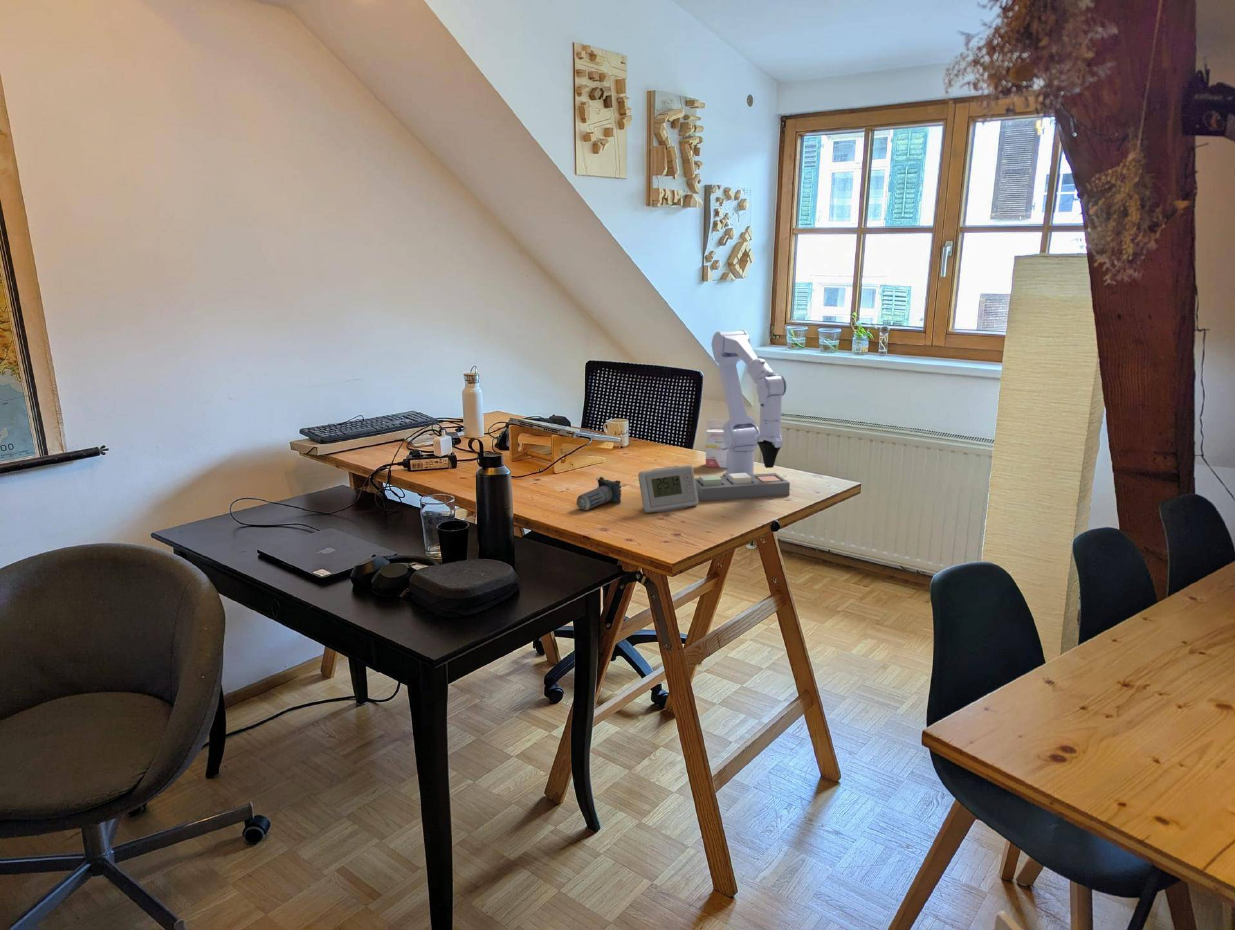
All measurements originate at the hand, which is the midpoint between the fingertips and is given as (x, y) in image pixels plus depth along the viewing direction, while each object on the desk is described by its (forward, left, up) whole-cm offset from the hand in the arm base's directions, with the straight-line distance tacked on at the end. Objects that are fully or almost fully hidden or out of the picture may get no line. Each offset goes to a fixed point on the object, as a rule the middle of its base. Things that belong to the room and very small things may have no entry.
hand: (769, 467), depth 222 cm
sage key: (0, -17, -4) cm, 17 cm away
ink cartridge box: (-31, -5, -7) cm, 32 cm away
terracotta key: (0, 0, -5) cm, 5 cm away
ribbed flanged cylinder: (+3, -49, -7) cm, 50 cm away
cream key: (0, -8, -4) cm, 9 cm away
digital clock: (+9, -31, -7) cm, 33 cm away
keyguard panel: (0, -8, -7) cm, 11 cm away
